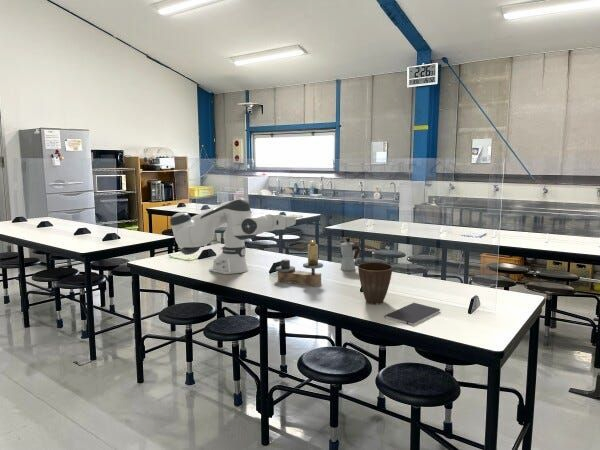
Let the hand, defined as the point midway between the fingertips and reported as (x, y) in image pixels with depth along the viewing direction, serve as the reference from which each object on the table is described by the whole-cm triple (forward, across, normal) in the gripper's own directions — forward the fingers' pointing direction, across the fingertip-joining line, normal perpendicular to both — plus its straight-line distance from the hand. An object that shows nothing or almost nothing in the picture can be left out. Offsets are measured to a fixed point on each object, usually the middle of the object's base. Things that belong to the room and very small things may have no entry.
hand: (283, 217), depth 223 cm
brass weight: (+8, +12, -24) cm, 28 cm away
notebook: (-14, +68, -35) cm, 78 cm away
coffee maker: (+43, +17, -34) cm, 57 cm away
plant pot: (-5, +49, -34) cm, 60 cm away
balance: (+8, +4, -34) cm, 35 cm away
